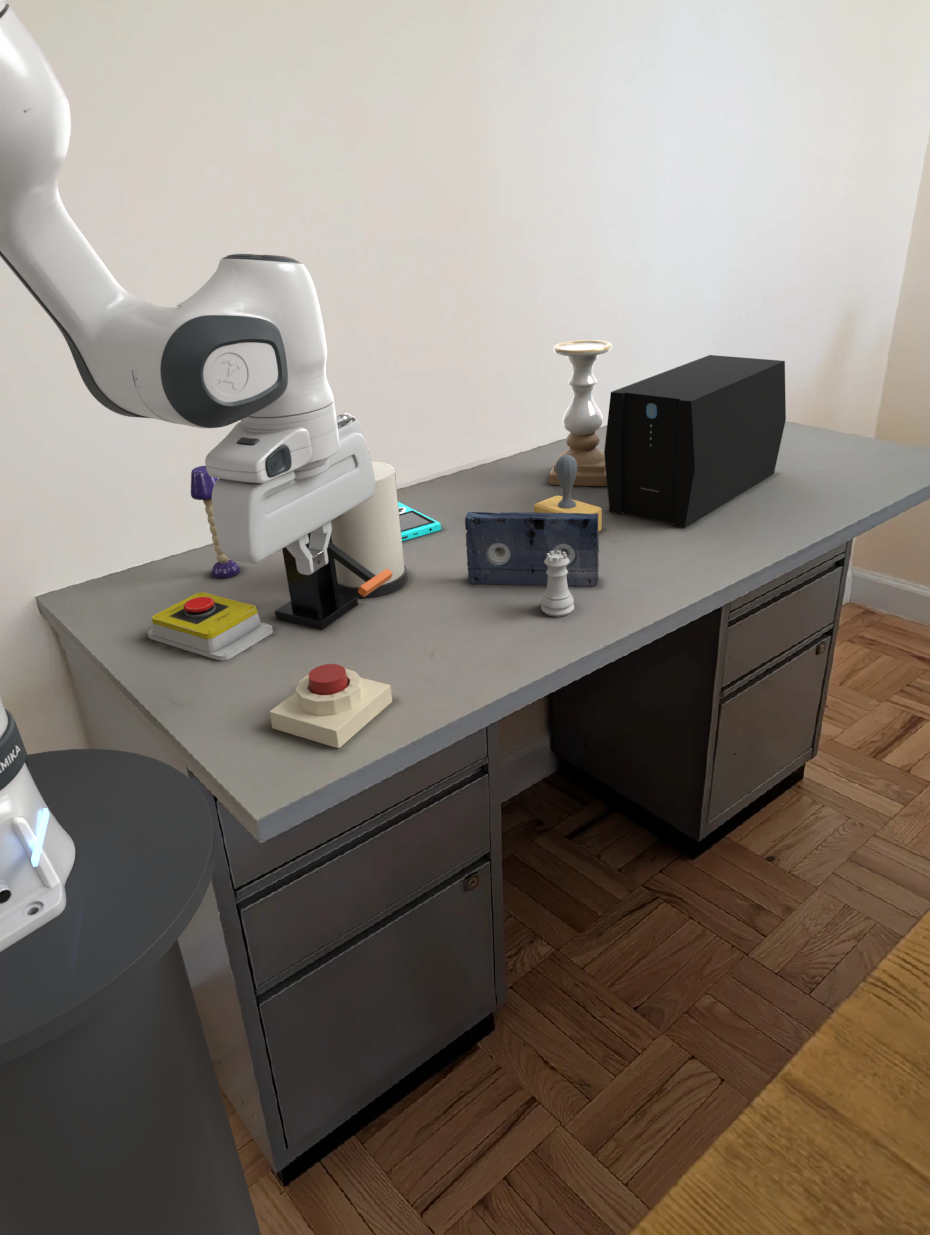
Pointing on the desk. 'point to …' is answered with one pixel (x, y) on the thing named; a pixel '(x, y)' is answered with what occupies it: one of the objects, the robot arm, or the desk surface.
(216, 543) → the toy lamp
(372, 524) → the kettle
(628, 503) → the uninterruptible power supply
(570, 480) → the rubber stamp
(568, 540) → the vhs cassette tape
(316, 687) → the button
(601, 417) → the candle holder
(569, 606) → the rook chess piece
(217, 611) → the emergency button
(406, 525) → the handheld game console
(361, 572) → the power lever
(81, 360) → the robot arm
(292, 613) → the switch bracket
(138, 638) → the desk surface
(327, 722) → the button block
